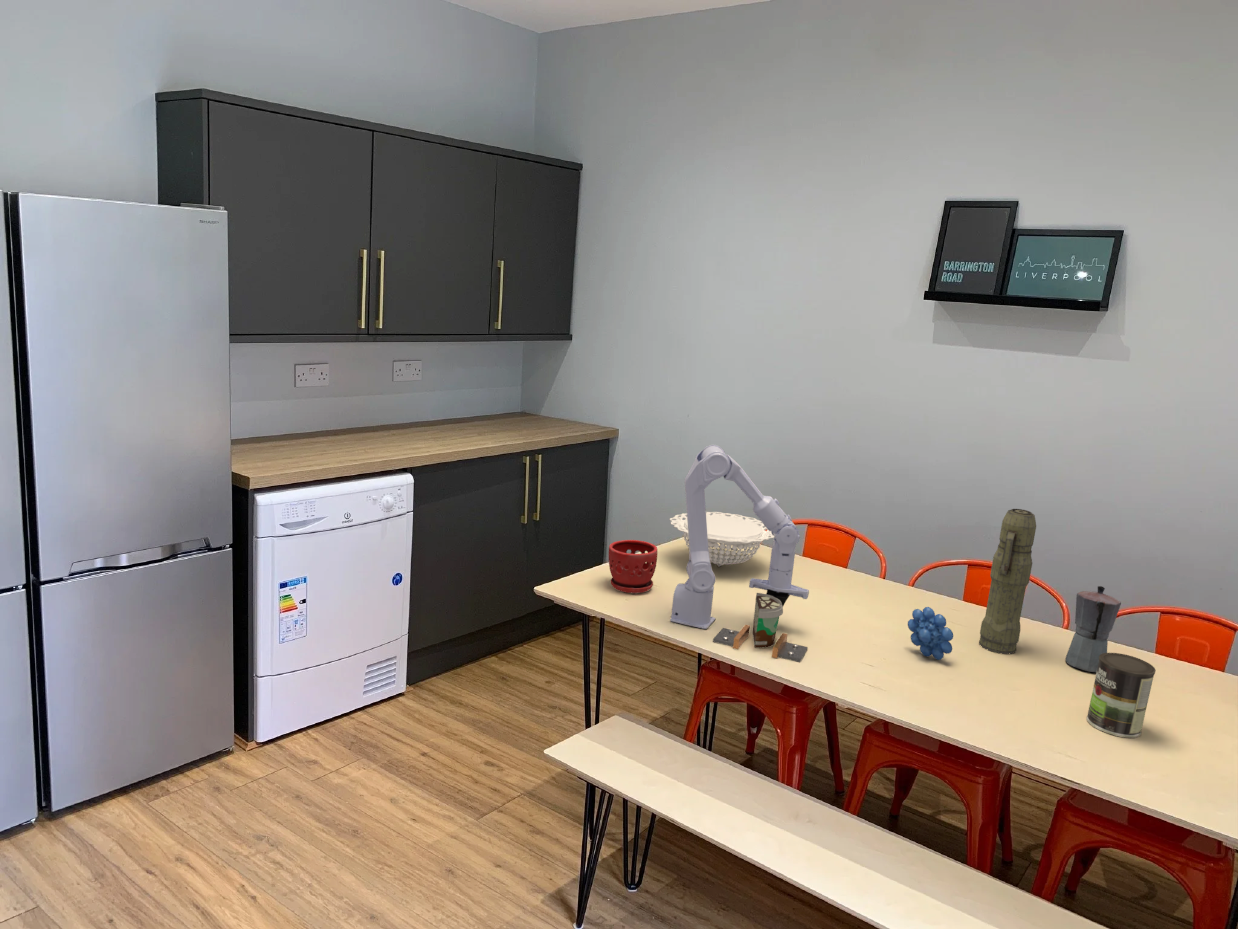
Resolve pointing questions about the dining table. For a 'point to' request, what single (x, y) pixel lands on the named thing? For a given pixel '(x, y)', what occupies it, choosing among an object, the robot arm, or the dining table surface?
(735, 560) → the white lattice basket
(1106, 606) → the moka pot
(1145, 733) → the dining table surface
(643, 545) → the plant pot
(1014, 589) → the thermos
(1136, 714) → the coffee can
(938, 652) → the grapes
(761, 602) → the food container
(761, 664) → the dining table surface
